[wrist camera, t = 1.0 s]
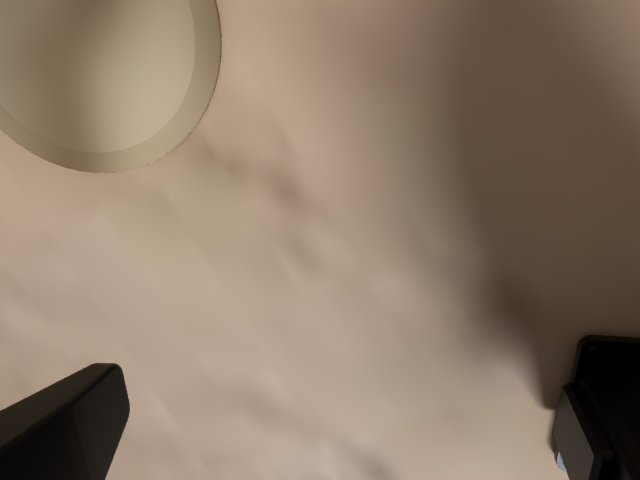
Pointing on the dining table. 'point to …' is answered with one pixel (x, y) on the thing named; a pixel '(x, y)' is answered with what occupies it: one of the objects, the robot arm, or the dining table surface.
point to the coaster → (106, 77)
